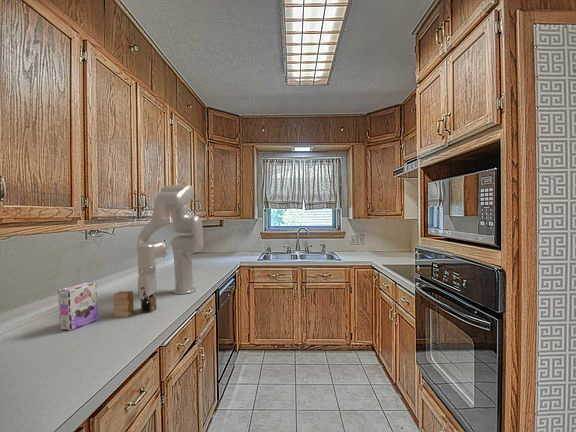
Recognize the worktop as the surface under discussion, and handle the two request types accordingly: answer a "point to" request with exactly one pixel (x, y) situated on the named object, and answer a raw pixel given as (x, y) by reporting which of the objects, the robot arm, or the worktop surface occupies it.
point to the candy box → (77, 306)
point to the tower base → (123, 310)
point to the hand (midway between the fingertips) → (149, 309)
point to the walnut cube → (151, 304)
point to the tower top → (123, 298)
